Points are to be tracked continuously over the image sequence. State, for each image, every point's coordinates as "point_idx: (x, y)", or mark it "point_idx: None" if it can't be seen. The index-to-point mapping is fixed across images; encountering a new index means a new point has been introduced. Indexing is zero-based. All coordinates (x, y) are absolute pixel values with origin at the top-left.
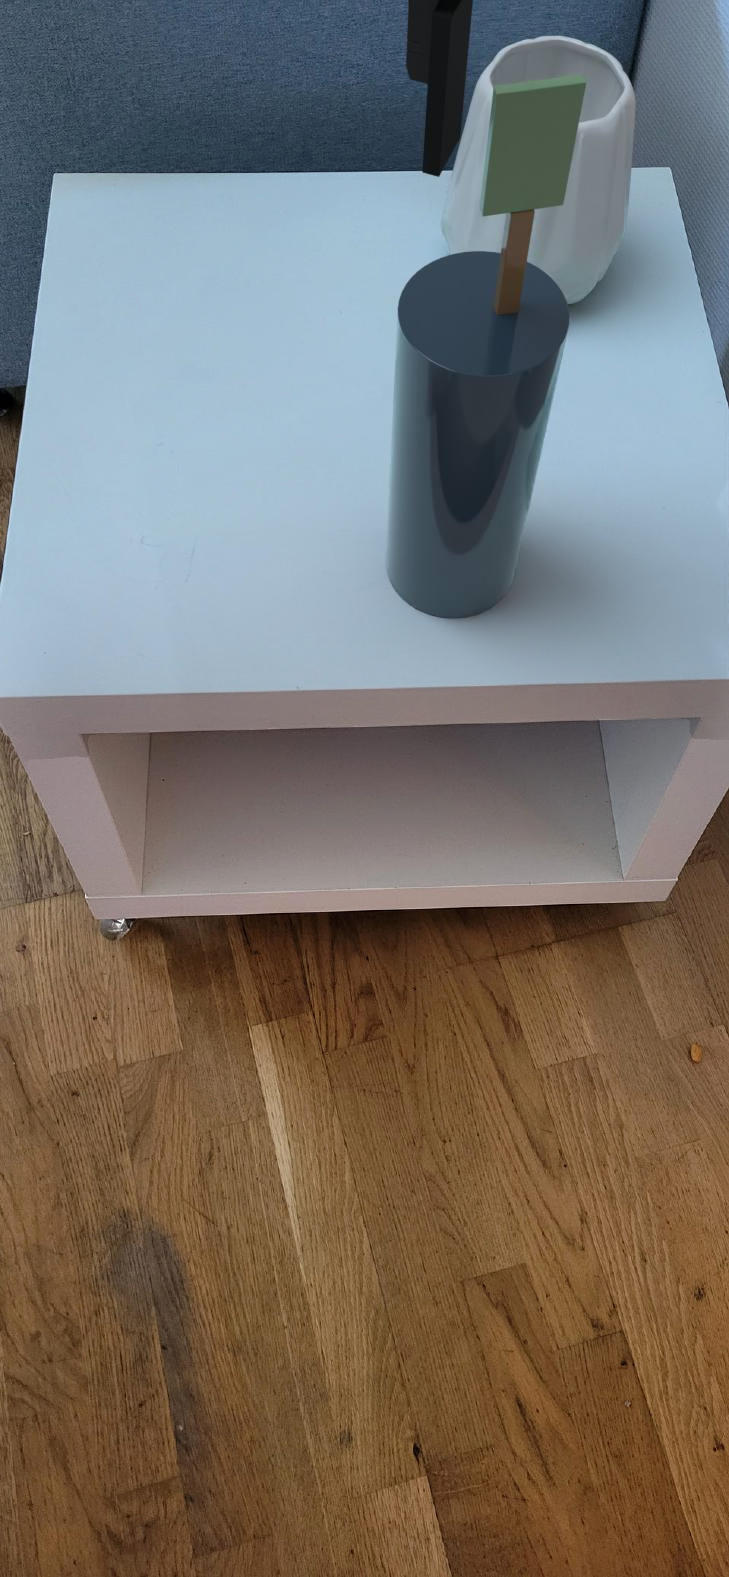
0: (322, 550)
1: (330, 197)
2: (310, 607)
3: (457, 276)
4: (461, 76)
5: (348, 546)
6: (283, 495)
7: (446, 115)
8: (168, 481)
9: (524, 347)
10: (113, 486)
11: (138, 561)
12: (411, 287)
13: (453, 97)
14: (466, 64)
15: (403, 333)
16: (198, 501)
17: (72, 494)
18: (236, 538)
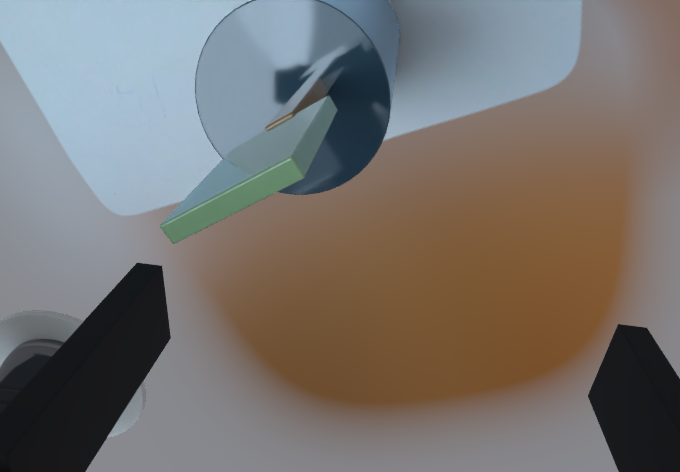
0: None
1: None
2: None
3: (244, 56)
4: (110, 354)
5: None
6: (191, 10)
7: (130, 386)
8: (102, 26)
9: (348, 145)
10: (69, 46)
11: (125, 109)
12: (202, 89)
13: (121, 369)
14: (103, 340)
15: (222, 158)
16: (134, 39)
17: (47, 63)
18: (178, 66)
